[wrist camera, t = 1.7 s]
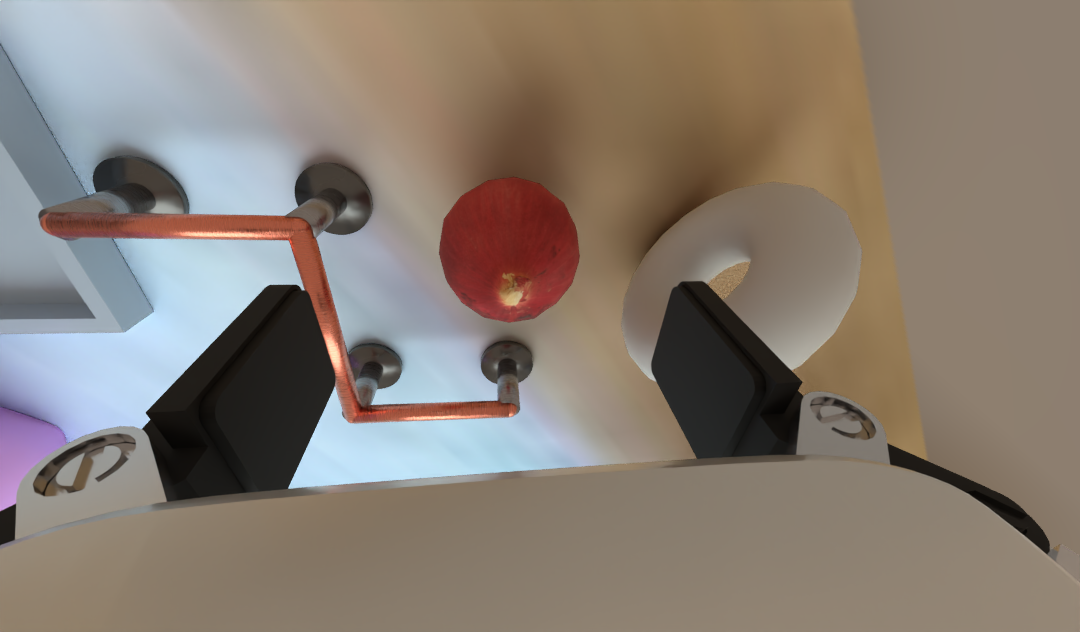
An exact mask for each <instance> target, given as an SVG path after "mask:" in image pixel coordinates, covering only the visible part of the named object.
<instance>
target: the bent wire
mask: <svg viewBox="0 0 1080 632" xmlns="http://www.w3.org/2000/svg"><path fill="white" fill-rule="evenodd" d="M93 183H94V187H95V190H96V193H94V194H91V195H88V196H84V197H81V198H78V199H74V200H71V201H68V202H65V203H61V204H58V205H55V206H51V207H48V208H45V209H42V210H41V211H40V212H39V215H38V218H39V221H40V226H41V228H42V229H43V230H44V231H45V232H46V233H48V234H50V235H52V236H56V237H58V238H60V239H63V240H68V241H74V240H77V239H80V238H138V239H221V240H289V242H290V245H291V248H292V251H293V254H294V258H295V261H296V264H297V267H298V270H299V273H300V277H301V280H302V283H303V286H304V289H305V291H307V292H308V293H309V295H310V297H311V300H312V303H313V307H314V310H315V313H316V316H317V319H318V322H319V325H320V328H321V331H322V334H323V337H324V340H325V343H326V347H327V350H328V353H329V356H330V359H331V362H332V365H333V368H334V371H335V375H336V382H335V387H336V391H337V394H338V397H339V400H340V403H341V406H342V410H343V411H342V415H343V417H344V418H345V419H346V420H347V421H348V422H349V423H376V422H402V421H428V420H453V419H479V418H505V417H512V416H514V415H516V414H517V413H518V412H519V410H520V403H519V389H518V383H519V382H521V381H523V380H524V379H525V378H527V377H528V375H529V374H530V373H531V371H532V367H533V362H532V356H531V353H530V352H529V350H528V349H527V348H526V347H525V346H523V345H521V344H519V343H516V342H511V341H504V342H499V343H496V344H494V345H492V346H490V347H489V348H488V349H487V350H486V351H485V352H484V354H483V356H482V359H481V369H482V372H483V374H484V376H485V377H486V378H487V379H488V380H490V381H491V382H493V383H496V384H498V401H473V402H444V403H414V404H385V405H371V403H372V401H373V398H374V395H375V393H376V390H377V389H382V388H386V387H389V386H391V385H393V384H394V383H396V382H397V381H398V379H399V377H400V375H401V371H402V362H401V360H400V358H399V356H398V355H397V354H396V353H395V352H394V351H392V350H391V349H389V348H387V347H385V346H382V345H379V344H363V345H359V346H357V347H355V348H354V349H352V350H351V351H350V352H349V354H348V352H347V349H346V345H345V342H344V338H343V334H342V331H341V327H340V323H339V320H338V316H337V312H336V309H335V305H334V302H333V298H332V294H331V291H330V287H329V283H328V280H327V276H326V272H325V269H324V265H323V262H322V258H321V254H320V251H319V247H318V243H317V240H316V237H317V236H318V235H319V234H321V233H322V232H323V231H326V232H328V233H332V234H338V235H346V234H351V233H354V232H356V231H358V230H359V229H361V228H362V227H363V226H364V225H365V224H366V223H367V221H368V220H369V218H370V216H371V213H372V206H373V204H372V198H371V194H370V192H369V189H368V188H367V186H366V184H365V183H364V182H363V180H362V179H361V178H360V177H359V176H358V175H357V174H356V173H354V172H353V171H351V170H350V169H348V168H346V167H344V166H342V165H339V164H335V163H319V164H316V165H313V166H311V167H309V168H307V169H306V170H304V171H303V172H302V173H301V174H300V176H299V177H298V179H297V181H296V185H295V198H296V202H297V204H298V207H297V208H296V209H295V210H293V211H292V212H290V213H289V214H287V215H286V216H265V215H211V214H188V213H189V203H188V199H187V197H186V194H185V192H184V190H183V189H182V187H181V186H180V185H179V183H178V182H177V181H176V180H175V179H174V178H173V177H172V176H171V175H170V174H169V173H168V172H167V171H165V170H164V169H162V168H161V167H159V166H158V165H156V164H154V163H152V162H150V161H147V160H145V159H142V158H138V157H133V156H120V157H115V158H110V159H107V160H104V161H103V162H101V163H100V164H99V165H98V166H97V167H96V169H95V171H94V174H93Z"/></svg>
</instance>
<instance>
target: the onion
mask: <svg viewBox="0 0 1080 632" xmlns="http://www.w3.org/2000/svg"><path fill="white" fill-rule="evenodd" d="M439 255H440V259H441V262H442V266H443V270H444V274H445V278H446V280H447V282H448V284H449V285H450V287H451V288H452V290H453V291H454V292H455V294H456V295H457V296H458V298H459V299H460V300H461V302H462V303H463V304H465V305H466V306H468V307H469V308H471V309H472V310H474V311H475V312H477V313H478V314H480V315H481V316H483V317H485V318H489V319H494V320H499V321H504V322H515V321H522V320H528V319H534V318H535V317H537V316H538V315H539V314H541V313H542V312H544V311H545V310H547V309H548V308H550V307H551V306H553V305H554V304H556V303H557V302H558V301H559V299H560V298H561V297H562V296H563V294H564V293H565V292H566V291H567V289H568V288H569V287H570V286H571V284H572V282H573V279H574V276H575V272H576V269H577V266H578V263H579V257H580V255H579V246H578V237H577V231H576V227H575V224H574V222H573V220H572V218H571V216H570V214H569V212H568V210H567V208H566V206H565V204H564V203H563V202H562V201H560V200H559V199H558V198H557V197H555V196H554V195H553V194H551V193H550V192H549V191H548V190H547V189H545V188H544V187H543V186H542V185H541V184H539V183H535V182H532V181H528V180H524V179H520V178H516V177H510V178H503V179H495V180H488V181H486V182H484V183H483V184H481V185H479V186H477V187H476V188H474V189H472V190H470V191H469V192H467V193H465V194H464V195H462V196H461V197H460V198H459V200H458V201H457V202H456V204H455V205H454V206H453V208H452V209H451V210H450V212H449V213H448V214H447V216H446V217H445V218H444V222H443V228H442V235H441V241H440V249H439Z"/></svg>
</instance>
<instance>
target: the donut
mask: <svg viewBox="0 0 1080 632" xmlns="http://www.w3.org/2000/svg"><path fill="white" fill-rule="evenodd" d="M861 257H862V249H861V246H860V244H859V241H858V239H857V236H856V234H855V232H854V229H853V227H852V224H851V222H850V220H849V217H848V215H847V213H846V211H844V210H843V209H842V208H841V207H839V206H838V205H837V204H836V203H834V202H833V201H831V200H830V199H828V198H827V197H825V196H824V195H822V194H821V193H819V192H818V191H816V190H815V189H813V188H809V187H805V186H800V185H793V184H786V183H779V182H770V183H764V184H758V185H753V186H747V187H741V188H736V189H733V190H731V191H729V192H726V193H724V194H722V195H719V196H717V197H714V198H712V199H710V200H708V201H706V202H705V203H703V204H702V205H700V206H698V207H697V208H695V209H694V210H692V211H691V212H689V213H687V214H686V215H684V216H683V217H682V218H681V219H680V220H679V221H677V222H676V223H675V224H674V225H673V226H672V227H671V228H669V229H668V230H667V231H666V232H665V233H664V234H663V235H662V236H661V237H660V238H659V239H658V241H657V242H656V243H655V244H654V245H653V246H652V248H651V249H650V250H649V251H648V252H647V254H646V255H645V256H644V258H643V260H642V261H641V263H640V264H639V266H638V268H637V269H636V271H635V273H634V274H633V276H632V278H631V281H630V284H629V286H628V289H627V292H626V294H625V297H624V304H623V313H622V323H621V327H622V331H623V336H624V340H625V344H626V348H627V350H628V353H629V355H630V356H631V357H632V359H633V360H634V361H635V362H636V364H637V365H638V366H639V368H640V369H641V370H642V372H643V373H644V374H645V375H646V376H647V377H648V378H649V379H651V380H653V381H656V380H655V378H654V376H653V374H652V370H651V361H652V357H653V354H654V350H655V347H656V343H657V340H658V336H659V333H660V329H661V326H662V322H663V319H664V315H665V311H666V308H667V304H668V301H669V297H670V294H671V291H672V289H673V287H677V286H678V284H679V283H680V282H682V281H703V282H705V283H706V284H708V283H709V281H710V280H711V279H713V278H714V277H715V276H717V275H718V274H719V273H721V272H722V271H723V270H725V269H727V268H729V267H731V266H733V265H735V264H738V263H742V262H746V261H750V265H749V269H748V272H747V273H746V275H745V277H744V279H743V280H742V282H741V283H740V284H739V285H738V286H737V287H736V288H735V289H734V290H733V291H732V292H731V293H730V295H729V296H728V297H726V298H725V299H723V301H724V302H725V303H726V304H727V305H728V306H729V307H730V308H731V309H732V310H733V311H734V313H735V314H736V315H737V316H738V317H739V318H740V319H741V320H742V321H743V322H744V323H745V324H746V325H747V326H748V327H749V328H750V329H751V330H752V331H753V332H754V333H755V334H756V335H757V336H758V337H759V338H760V339H761V340H762V341H763V342H764V343H765V344H766V345H767V346H768V347H769V348H770V349H771V350H772V351H773V352H774V353H775V354H776V355H777V356H778V357H779V358H780V360H781V361H782V362H783V363H784V364H785V365H786V366H787V367H788V368H789V369H790V370H793V369H795V368H797V367H799V366H801V365H802V364H803V363H804V362H805V361H806V360H807V359H808V358H809V357H810V356H811V355H812V354H813V353H814V352H815V351H816V350H817V349H819V348H820V347H821V346H822V345H823V344H824V343H825V342H826V341H827V340H828V339H829V338H830V337H831V336H832V335H833V334H834V333H835V331H836V330H837V328H838V326H839V324H840V323H841V321H842V319H843V317H844V315H845V314H846V312H847V310H848V308H849V307H850V305H851V303H852V301H853V300H854V298H855V296H856V292H857V289H858V281H859V273H860V265H861Z"/></svg>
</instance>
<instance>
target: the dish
mask: <svg viewBox="0 0 1080 632" xmlns="http://www.w3.org/2000/svg"><path fill="white" fill-rule="evenodd" d="M84 196H87V195H86V193H85V191H84V189H83V188H82V186H81V184H80V182H79V181H78V179H77V177H76V175H75V174H74V172H73V170H72V168H71V167H70V165H69V163H68V162H67V160H66V158H65V156H64V155H63V153H62V151H61V149H60V148H59V146H58V144H57V142H56V141H55V139H54V137H53V135H52V134H51V132H50V130H49V129H48V127H47V125H46V123H45V122H44V120H43V118H42V116H41V115H40V113H39V111H38V109H37V108H36V106H35V104H34V102H33V101H32V99H31V97H30V96H29V94H28V92H27V90H26V89H25V87H24V85H23V83H22V82H21V80H20V78H19V76H18V75H17V73H16V71H15V69H14V68H13V66H12V64H11V63H10V61H9V59H8V57H7V56H6V54H5V52H4V50H3V49H2V47H1V45H0V334H43V333H122V332H126V331H127V330H129V329H130V328H131V327H133V326H134V325H136V324H137V323H138V322H140V321H141V320H143V319H144V318H146V317H147V316H148V315H150V314H151V313H153V312H154V311H153V309H152V307H151V306H150V304H149V302H148V300H147V299H146V297H145V295H144V294H143V292H142V290H141V288H140V287H139V285H138V283H137V281H136V280H135V278H134V276H133V274H132V273H131V271H130V269H129V267H128V266H127V264H126V262H125V261H124V259H123V257H122V255H121V254H120V252H119V250H118V248H117V247H116V245H115V243H114V241H113V240H112V238H80V239H77V240H74V241H68V240H63V239H60V238H58V237H56V236H52V235H50V234H48V233H46V232H45V231H44V230H43V229H42V228H41V226H40V221H39V218H38V215H39V212H40V211H41V210H42V209H45V208H48V207H51V206H55V205H58V204H61V203H65V202H68V201H71V200H74V199H78V198H81V197H84Z"/></svg>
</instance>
